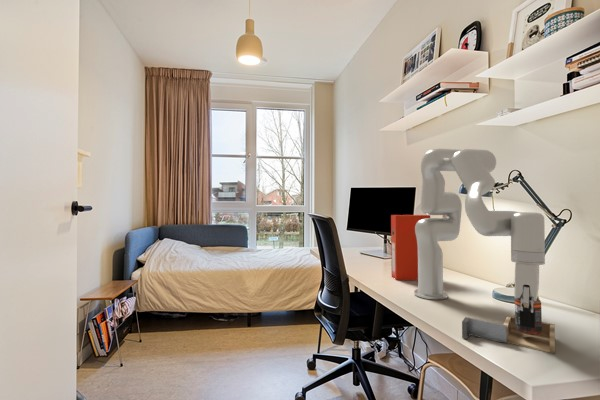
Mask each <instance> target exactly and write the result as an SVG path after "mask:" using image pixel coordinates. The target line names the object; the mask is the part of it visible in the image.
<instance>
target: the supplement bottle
mask: <svg viewBox="0 0 600 400" xmlns="http://www.w3.org/2000/svg"><path fill="white" fill-rule="evenodd" d="M531 297H532V295H531ZM529 300H532V298H529ZM529 304H531V303H529ZM520 310H521V296H520V298H518V299H515V298H514V317H515V327H516V329H517V330H518V331H520V332H522V333H525V334H529V335H539V334H541V333H542V322H543V321H542V319H543V318H542V314H543V313H542V301H541V300H540V298H537V301H535V302H534V305H533V312H534V313H535V327H534V328H531V327H526V326H521V325H520Z"/></svg>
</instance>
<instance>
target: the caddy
mask: <svg viewBox="0 0 600 400" xmlns="http://www.w3.org/2000/svg"><path fill="white" fill-rule="evenodd" d="M503 322H504V323H503V324H502V325H507V343H506V344H513V345H516V346H519V347H525V348H528V349H529V348H530V349H533V350H538V351H542V352H546V353H551V354H556V334H555V333H556V330H555V327H556V325H555V324H554V323H550V322H549V323H548V322H543V321H542V333H541V334H539V335H529V334H525V333H522V332H520V331H518V330H517V329H516V327H515V316H513V315H512V316H511V315H507V316H506V318H505V321H503Z"/></svg>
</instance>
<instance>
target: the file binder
mask: <svg viewBox="0 0 600 400" xmlns="http://www.w3.org/2000/svg"><path fill="white" fill-rule="evenodd" d="M425 218H431V215H427V214H402V215H401V214H391V215H390V232H391V234H390V236H391V238H390V239H391V240H390V241H391V244H390V245H391V248H390V249H391V250H390V253H391V256H390V257H391V260H390V261H391V263H390V264H391V277H392V278H393V279H394V278H395V279H396V280H395V279H394V280H395V281H407V280H408V281H418V246H417V238H416V234H415V225H416V223H417V222H418V221H419V220H421V219H425Z"/></svg>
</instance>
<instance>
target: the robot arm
mask: <svg viewBox="0 0 600 400" xmlns="http://www.w3.org/2000/svg"><path fill="white" fill-rule="evenodd" d="M496 166H497V158H496V156H495V155H494V154H493V152H492V151H490V150H488V149H477V148H476V149H475V148H463V149H456V148H455V149H452V148H433V149H429V150H428V151H426V152H425V154H424V155H423V156H422V159H421V162H420V171H421V179H422V180H421V181H422V183H421V185H422V186H421V193H420V194H421V196H420V210H421V211H422V214H423V215H430V216H442V217H430V218H425V219H421V220H419V221H418V222H417V223H416V225H415V234H416V238H417V246H418V280H417V289H414V291H413V294H414V295H415V296H416V297H418V298H422V299H427V300H437V301H438V300H446V299H447V298H448V293H447V292H446V291H444V253H443V250H442V248H441V246H440V244H439V242H450V241H455V240H456V239H457V238H458V237H459V235H460V234H459V233H460V231H461V230H460V229H461V222H462V221H461V220H462V211H463V210H462V209H463V207H462V204H463V203H462V200H461V198H460V196H459V195H458V194H457V193H455V192H452V191H446V189H445V188H446V181H445V178H444V175H443V173H442V172H455V173H456V174H457V176H458V179H460V181H461V183H462V184H463V186H464V189H465V190H466V192H467V193H466V196H465V200H464V209H465V214H466V216H467V218H468V220H469V221H470V222H469V223H470V224H471V226H472V227H473V229H474V230H475V231H476V232H477V233H478V234H479V235H481V236H484V237H510V258H511V259H510V260H511V261H510V262H512V263H515V266H514V295H513V296H514V297H513V298H514V300H515V299H518V298H520V296H521V310H520V325H521V326H526V327H531V328H534V327H535V313H534V312H533V305H534V302H535V301H537V299H538V295H539V290H540V289H539V288H540V266H542V265H543V266H544V265H545V264H546V262H545V261H546V253H545V251H546V250H545V248H546V246H545V244H546V239H545V237H546V235H545V233H546V232H545V230H546V229H545V216H544V215H543V214H542V213H540V212H533V211H532V212H530V211H529V212H527V211H526V212H525V211H523V212H522V211H521V212H520V211H515V210H489V209H488V207H487V205H486V204H485V202H484V200H483V198H482V196H485V194H487V193H489V192H490V191H491V190H493V188H494V187H495V184H496V180H495V179H494V177H493V175H492V174H491V172H493V171H494V170H495V168H496ZM531 295H532V297H531ZM529 298H532V300H529ZM529 303H531V304H529Z"/></svg>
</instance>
